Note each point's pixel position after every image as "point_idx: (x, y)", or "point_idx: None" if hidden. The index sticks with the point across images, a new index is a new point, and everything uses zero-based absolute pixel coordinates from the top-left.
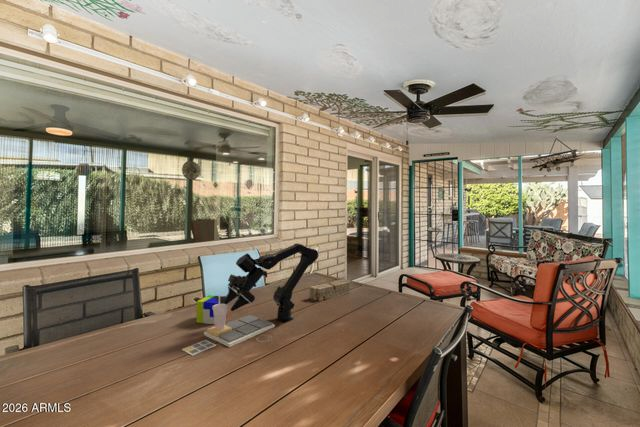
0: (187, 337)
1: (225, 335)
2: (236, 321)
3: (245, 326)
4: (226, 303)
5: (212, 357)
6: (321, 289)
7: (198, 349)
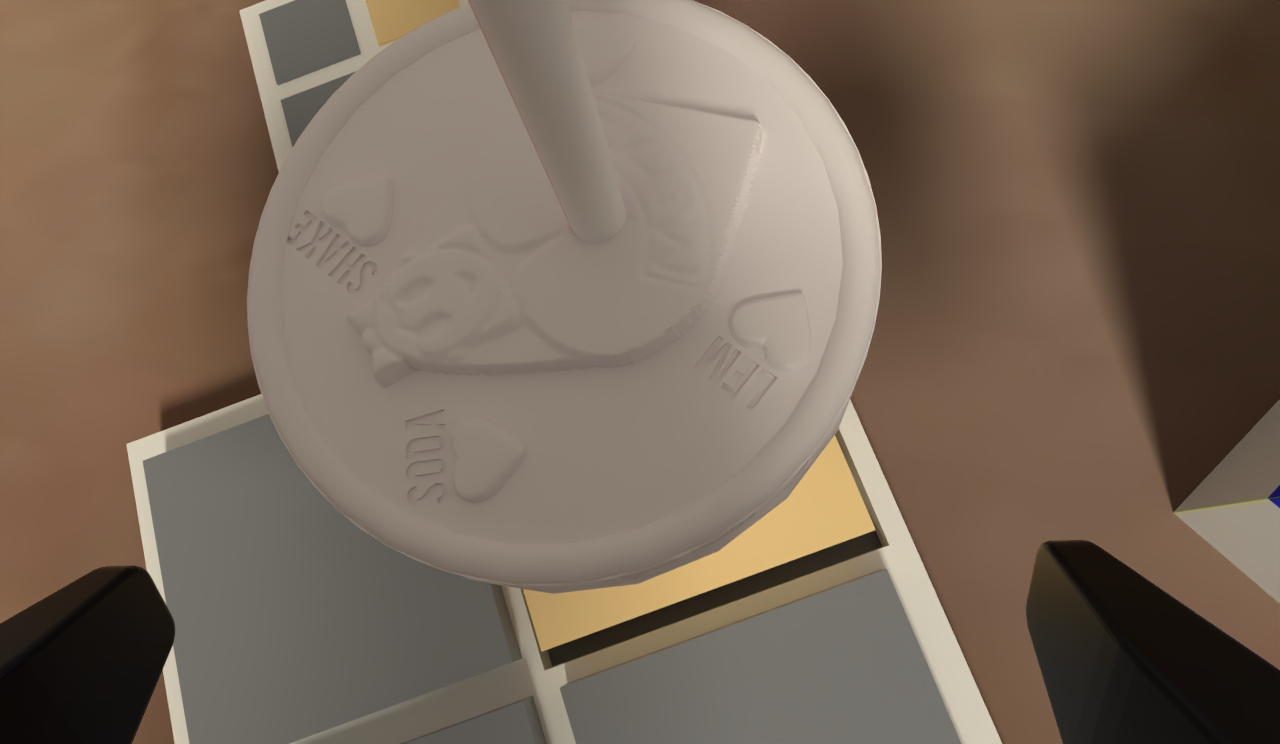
0: (805, 20)
1: None
2: None
3: None
4: (1058, 695)
5: (62, 199)
6: None
7: (328, 84)
